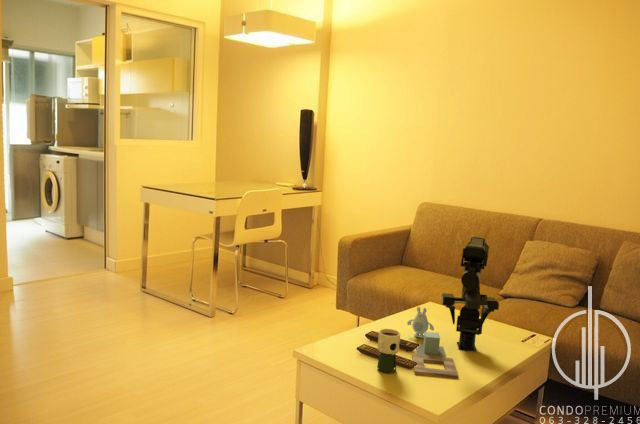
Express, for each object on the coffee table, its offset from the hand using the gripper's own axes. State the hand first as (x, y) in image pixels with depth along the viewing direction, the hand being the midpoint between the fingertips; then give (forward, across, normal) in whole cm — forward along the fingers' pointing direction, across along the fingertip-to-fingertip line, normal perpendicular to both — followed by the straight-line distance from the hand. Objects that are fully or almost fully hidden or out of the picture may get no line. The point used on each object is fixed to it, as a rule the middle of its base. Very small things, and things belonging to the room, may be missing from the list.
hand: (467, 325), depth 188 cm
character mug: (+13, -27, -14) cm, 33 cm away
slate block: (+12, -11, +5) cm, 17 cm away
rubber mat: (+13, -11, +5) cm, 18 cm away
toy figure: (+13, -14, +19) cm, 27 cm away
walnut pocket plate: (+13, -11, -8) cm, 19 cm away
